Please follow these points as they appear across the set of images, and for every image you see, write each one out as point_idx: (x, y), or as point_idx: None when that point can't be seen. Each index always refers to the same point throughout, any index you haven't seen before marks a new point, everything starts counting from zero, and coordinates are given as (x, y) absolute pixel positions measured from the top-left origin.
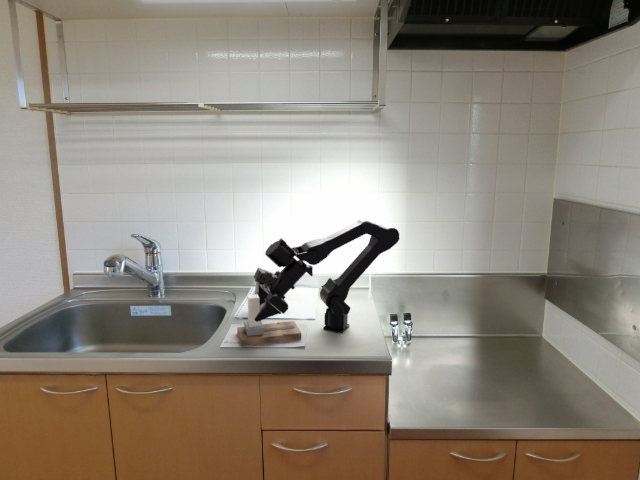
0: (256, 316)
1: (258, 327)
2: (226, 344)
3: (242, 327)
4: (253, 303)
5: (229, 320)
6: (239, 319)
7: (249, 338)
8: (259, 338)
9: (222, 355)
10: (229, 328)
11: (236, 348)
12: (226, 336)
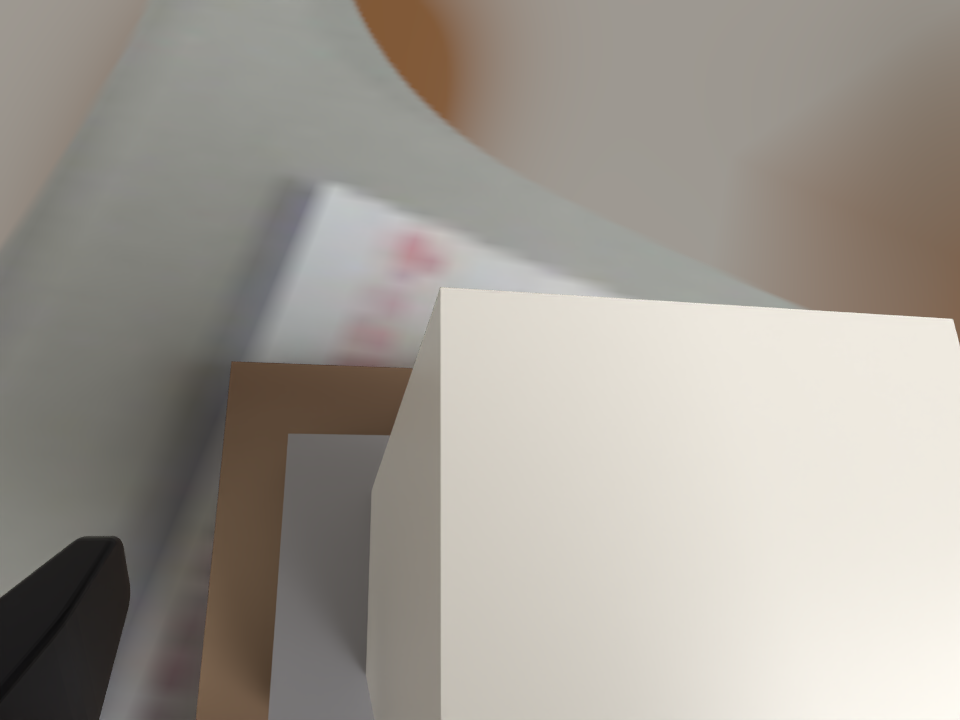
0: (33, 594)
1: (318, 640)
2: (357, 247)
3: None
4: (404, 553)
5: None
6: None
7: (242, 475)
8: (207, 624)
9: (113, 168)
10: None
11: (220, 326)
12: (544, 278)
